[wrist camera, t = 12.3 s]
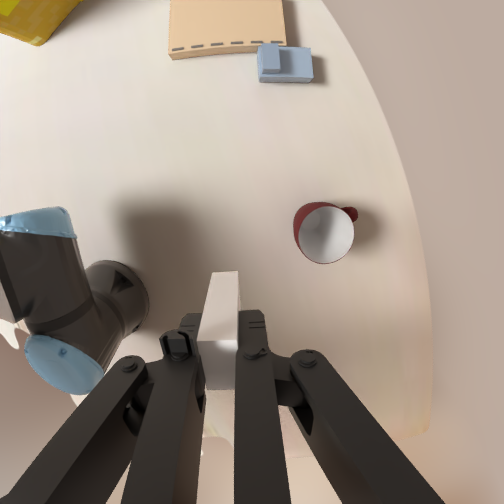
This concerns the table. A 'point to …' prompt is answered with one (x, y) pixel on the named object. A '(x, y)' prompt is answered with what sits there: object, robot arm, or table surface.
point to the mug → (324, 231)
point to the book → (33, 18)
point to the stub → (284, 63)
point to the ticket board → (223, 26)
